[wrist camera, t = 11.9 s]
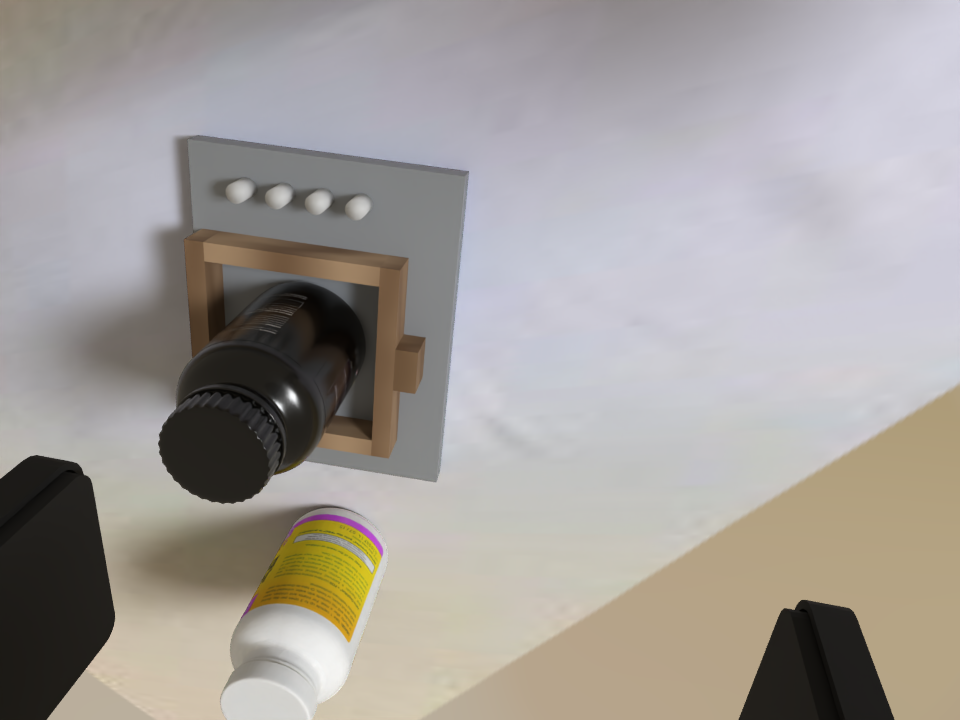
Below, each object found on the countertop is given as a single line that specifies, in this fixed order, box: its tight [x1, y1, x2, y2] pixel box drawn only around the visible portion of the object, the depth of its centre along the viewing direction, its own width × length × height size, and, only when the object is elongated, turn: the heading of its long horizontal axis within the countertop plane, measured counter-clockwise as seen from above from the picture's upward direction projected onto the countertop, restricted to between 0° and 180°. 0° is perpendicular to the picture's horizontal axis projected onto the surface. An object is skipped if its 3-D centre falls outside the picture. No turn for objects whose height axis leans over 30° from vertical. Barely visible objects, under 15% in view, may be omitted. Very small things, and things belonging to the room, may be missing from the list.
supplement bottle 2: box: [220, 508, 388, 720], centre depth 43 cm, size 7×7×13 cm
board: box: [187, 135, 469, 482], centre depth 41 cm, size 14×18×3 cm
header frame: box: [184, 229, 426, 459], centre depth 40 cm, size 12×11×2 cm
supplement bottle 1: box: [158, 282, 366, 504], centre depth 36 cm, size 7×7×12 cm
